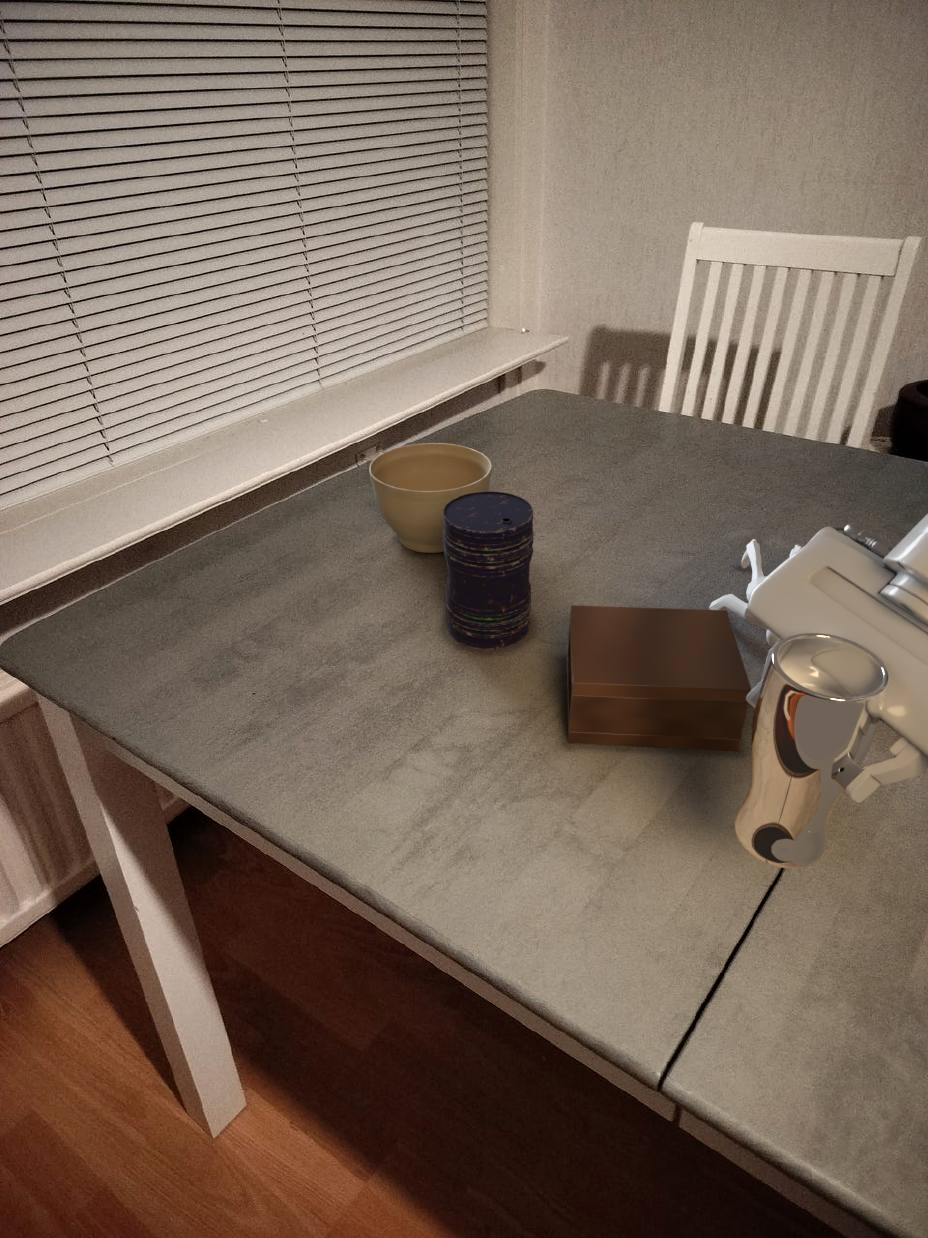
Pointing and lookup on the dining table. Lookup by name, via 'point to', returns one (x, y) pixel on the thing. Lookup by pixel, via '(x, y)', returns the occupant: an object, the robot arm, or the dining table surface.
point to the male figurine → (748, 590)
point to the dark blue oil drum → (488, 568)
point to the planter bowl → (425, 488)
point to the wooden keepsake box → (655, 678)
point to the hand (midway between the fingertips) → (798, 749)
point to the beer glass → (803, 750)
